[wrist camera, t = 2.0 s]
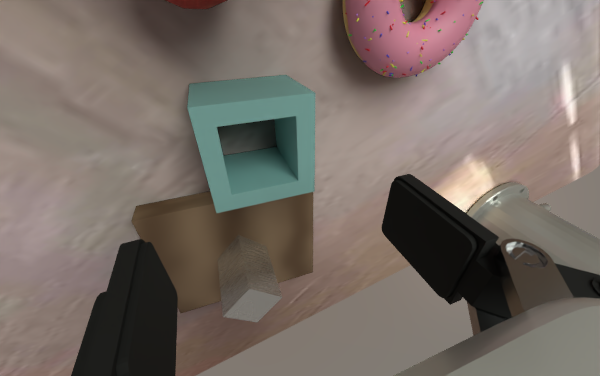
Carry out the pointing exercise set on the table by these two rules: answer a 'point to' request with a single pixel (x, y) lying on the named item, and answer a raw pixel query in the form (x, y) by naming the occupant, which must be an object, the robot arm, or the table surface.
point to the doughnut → (406, 33)
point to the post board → (215, 231)
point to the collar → (259, 163)
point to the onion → (196, 3)
